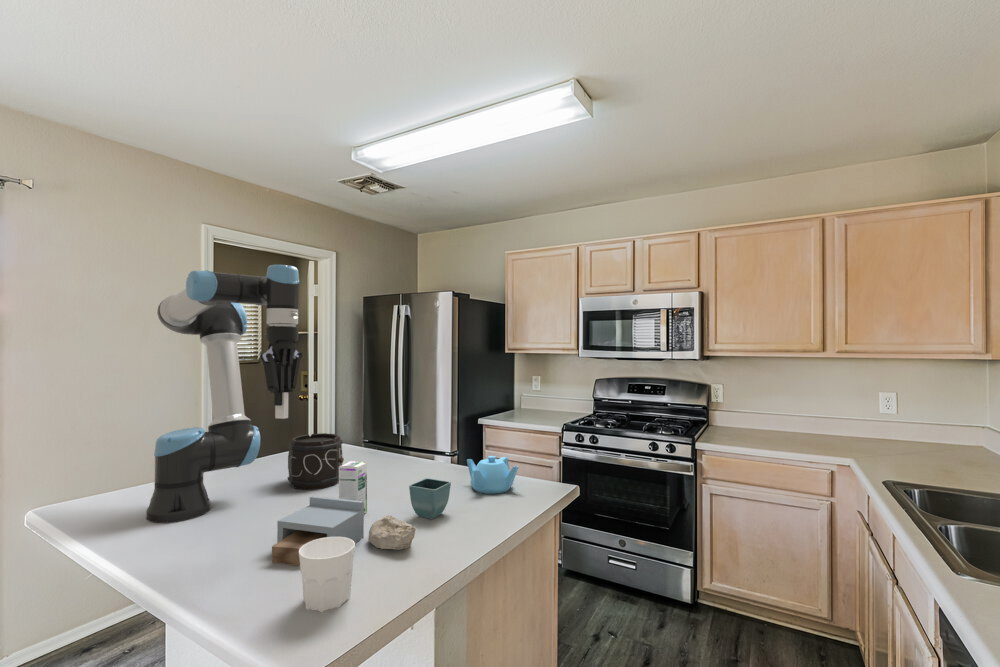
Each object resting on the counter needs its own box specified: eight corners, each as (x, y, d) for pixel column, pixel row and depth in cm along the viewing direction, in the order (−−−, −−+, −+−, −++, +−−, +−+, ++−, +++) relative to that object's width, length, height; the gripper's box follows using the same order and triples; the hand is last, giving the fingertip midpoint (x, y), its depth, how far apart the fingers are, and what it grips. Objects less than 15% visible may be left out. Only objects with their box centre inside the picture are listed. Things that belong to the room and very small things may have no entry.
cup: (321, 583, 99) (321, 534, 99) (364, 590, 96) (364, 540, 96) (286, 609, 89) (286, 555, 89) (333, 618, 86) (334, 562, 86)
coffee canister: (333, 491, 160) (333, 442, 160) (278, 490, 160) (279, 442, 161) (350, 475, 178) (350, 432, 178) (301, 475, 178) (302, 432, 179)
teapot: (519, 494, 157) (519, 460, 157) (473, 497, 154) (474, 463, 154) (508, 481, 172) (508, 450, 172) (466, 483, 169) (466, 452, 169)
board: (271, 564, 108) (271, 546, 108) (306, 539, 122) (306, 523, 122) (305, 567, 107) (305, 549, 107) (336, 541, 120) (336, 525, 120)
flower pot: (451, 512, 140) (451, 481, 140) (435, 523, 132) (435, 489, 132) (425, 508, 144) (425, 477, 144) (408, 518, 136) (408, 485, 136)
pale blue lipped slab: (277, 550, 114) (277, 512, 114) (312, 530, 126) (312, 495, 126) (332, 559, 110) (332, 518, 110) (363, 537, 122) (363, 501, 122)
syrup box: (357, 519, 134) (358, 466, 135) (338, 517, 136) (338, 465, 136) (367, 512, 140) (367, 461, 140) (348, 510, 141) (348, 460, 141)
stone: (384, 571, 112) (398, 537, 109) (357, 532, 119) (370, 500, 116) (410, 560, 118) (424, 528, 115) (383, 524, 125) (395, 493, 122)
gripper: (276, 324, 118) (275, 422, 117) (311, 326, 130) (310, 415, 130) (251, 325, 120) (250, 421, 120) (288, 326, 132) (287, 413, 132)
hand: (281, 417), depth 125 cm, fingers closed
